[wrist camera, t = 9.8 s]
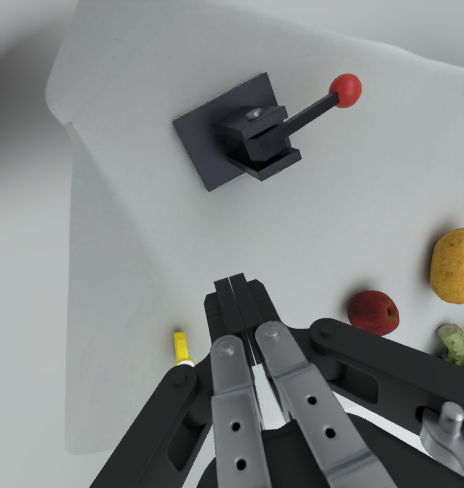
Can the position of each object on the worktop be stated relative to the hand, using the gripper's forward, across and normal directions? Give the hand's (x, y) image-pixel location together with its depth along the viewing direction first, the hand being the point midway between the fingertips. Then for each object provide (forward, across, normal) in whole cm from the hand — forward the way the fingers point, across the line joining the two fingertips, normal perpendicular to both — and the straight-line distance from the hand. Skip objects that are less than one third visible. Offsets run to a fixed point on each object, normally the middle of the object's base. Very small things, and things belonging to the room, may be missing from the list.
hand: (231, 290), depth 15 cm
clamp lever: (+20, -12, -3) cm, 24 cm away
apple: (+26, -22, +33) cm, 47 cm away
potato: (+28, -39, +30) cm, 57 cm away
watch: (+23, +9, +25) cm, 36 cm away
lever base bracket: (+27, -6, -1) cm, 27 cm away
